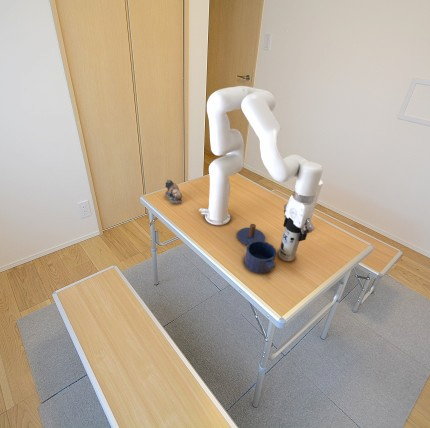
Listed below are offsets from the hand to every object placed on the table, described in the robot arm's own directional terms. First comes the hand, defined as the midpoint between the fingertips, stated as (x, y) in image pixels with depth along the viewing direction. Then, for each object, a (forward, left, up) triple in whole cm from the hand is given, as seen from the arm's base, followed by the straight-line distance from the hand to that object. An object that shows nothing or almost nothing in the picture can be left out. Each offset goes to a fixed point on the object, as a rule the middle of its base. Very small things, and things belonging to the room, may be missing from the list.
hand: (293, 232), depth 111 cm
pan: (-12, -6, -13) cm, 19 cm away
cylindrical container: (+10, +23, -13) cm, 28 cm away
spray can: (0, 0, -13) cm, 13 cm away
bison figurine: (-56, +36, -13) cm, 68 cm away
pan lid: (-15, +10, -12) cm, 22 cm away
